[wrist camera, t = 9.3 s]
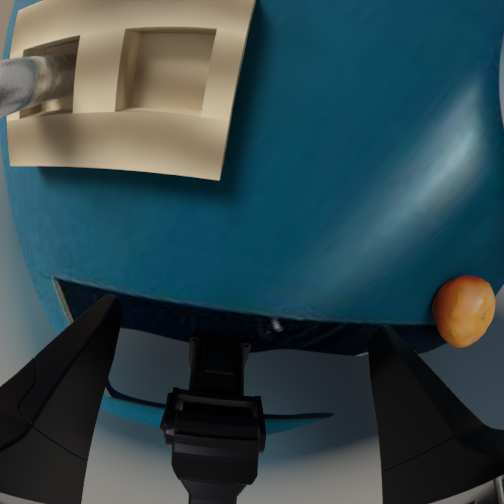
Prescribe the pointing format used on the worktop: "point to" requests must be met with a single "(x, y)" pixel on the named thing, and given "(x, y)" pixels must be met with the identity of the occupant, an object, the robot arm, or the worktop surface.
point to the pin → (35, 81)
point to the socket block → (134, 84)
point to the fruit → (463, 309)
